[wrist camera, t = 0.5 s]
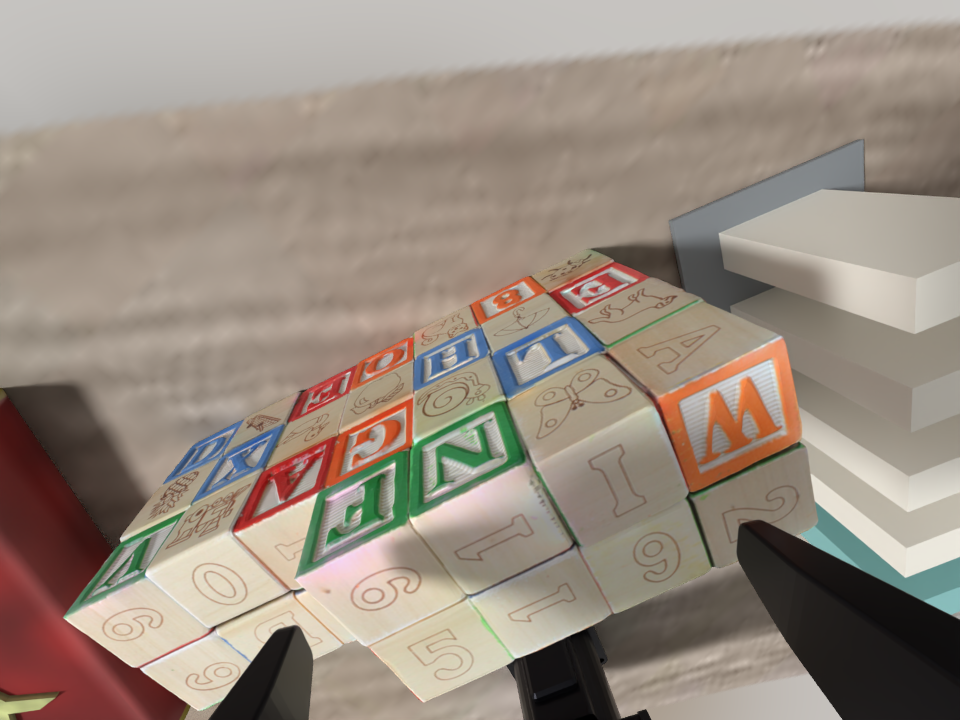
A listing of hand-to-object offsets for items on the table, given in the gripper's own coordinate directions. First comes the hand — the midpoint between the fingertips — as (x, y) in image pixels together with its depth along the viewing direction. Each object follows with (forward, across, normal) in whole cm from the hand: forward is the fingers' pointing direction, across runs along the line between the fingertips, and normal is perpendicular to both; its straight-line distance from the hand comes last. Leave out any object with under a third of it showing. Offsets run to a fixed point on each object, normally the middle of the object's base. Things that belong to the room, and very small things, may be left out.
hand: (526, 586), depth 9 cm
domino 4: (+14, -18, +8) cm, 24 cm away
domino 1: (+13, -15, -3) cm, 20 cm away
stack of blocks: (+14, +3, +2) cm, 15 cm away
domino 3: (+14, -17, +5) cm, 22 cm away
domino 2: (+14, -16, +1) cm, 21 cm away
